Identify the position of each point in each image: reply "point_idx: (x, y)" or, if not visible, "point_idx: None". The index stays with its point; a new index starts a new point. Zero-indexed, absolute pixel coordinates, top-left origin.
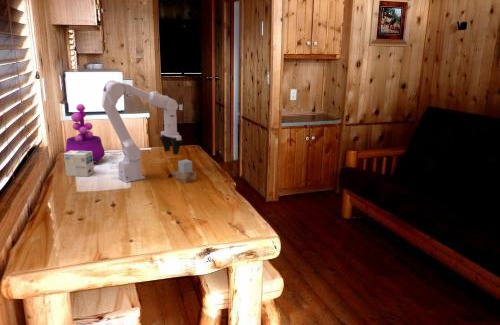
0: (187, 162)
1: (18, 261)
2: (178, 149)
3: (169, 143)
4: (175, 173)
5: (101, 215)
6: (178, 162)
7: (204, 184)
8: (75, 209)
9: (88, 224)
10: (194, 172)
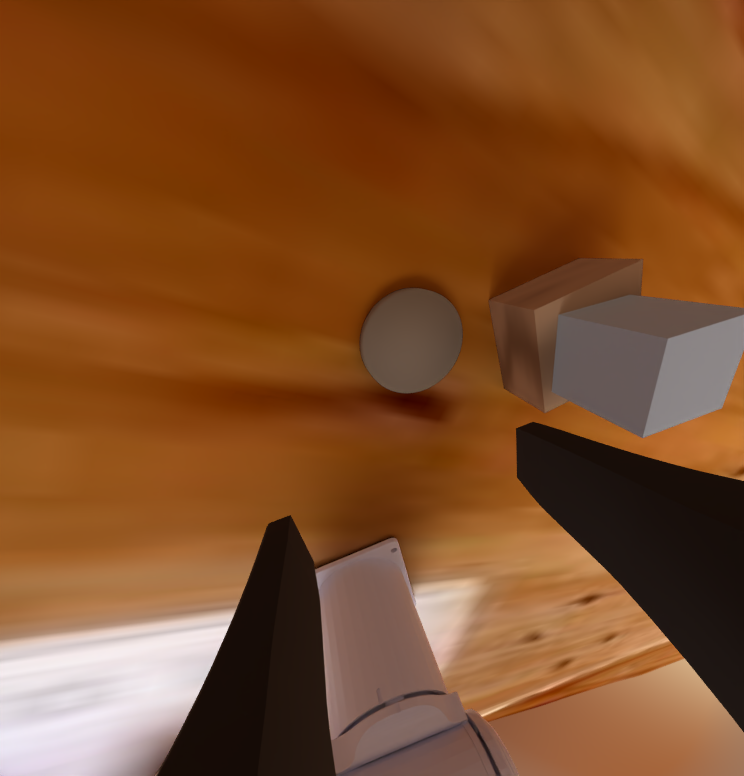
0: (734, 365)
1: (670, 660)
2: (612, 458)
3: (278, 672)
4: (425, 372)
5: (623, 609)
6: (631, 428)
7: (676, 247)
8: (552, 662)
9: (642, 620)
10: (638, 277)
